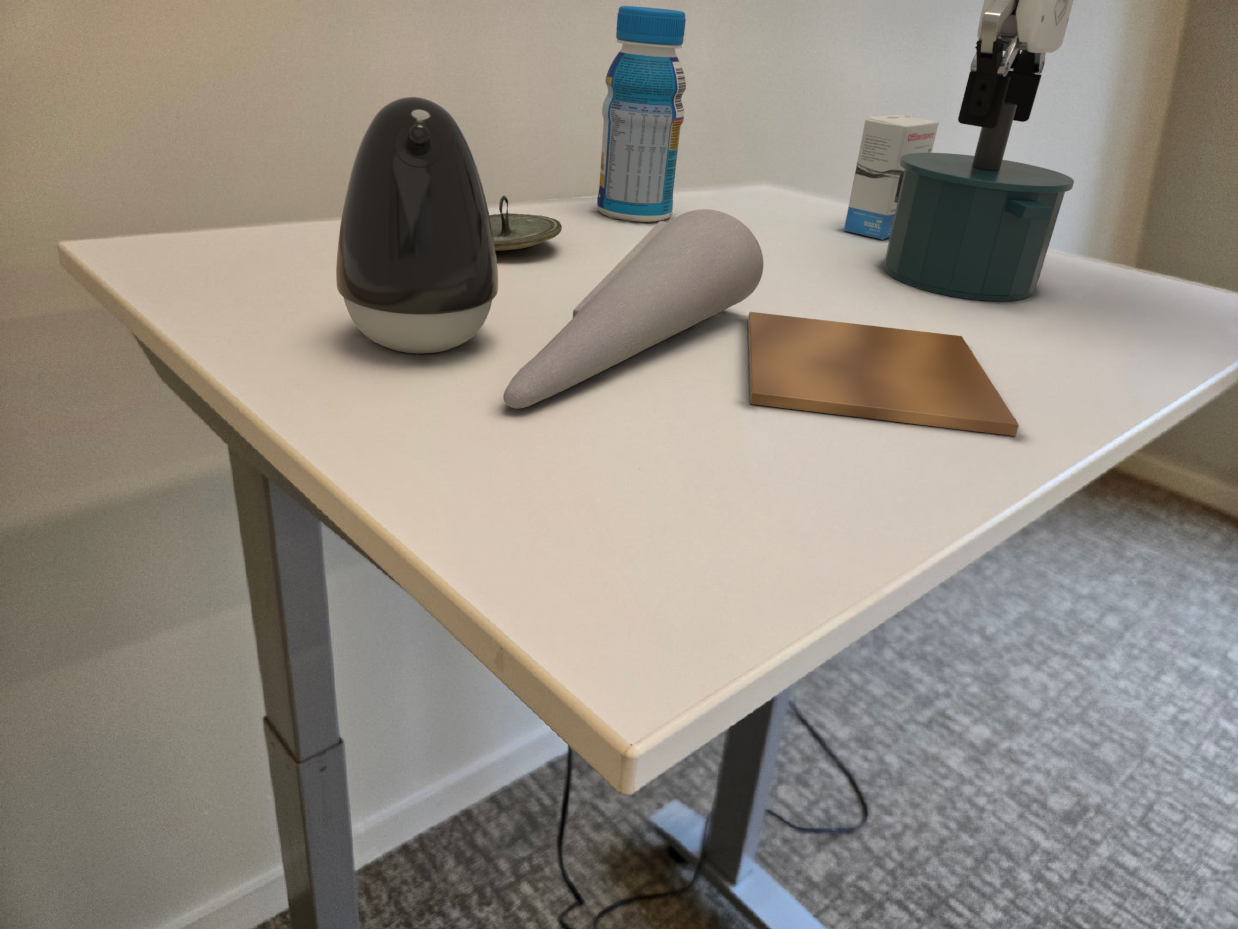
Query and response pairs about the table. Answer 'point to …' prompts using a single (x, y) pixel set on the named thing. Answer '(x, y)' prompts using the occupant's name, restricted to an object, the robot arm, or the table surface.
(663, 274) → the grey cone
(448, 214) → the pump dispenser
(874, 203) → the ink box
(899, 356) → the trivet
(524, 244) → the lid
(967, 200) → the pot
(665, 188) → the beverage bottle
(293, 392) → the table surface
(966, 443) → the table surface
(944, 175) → the pot lid
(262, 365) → the table surface
